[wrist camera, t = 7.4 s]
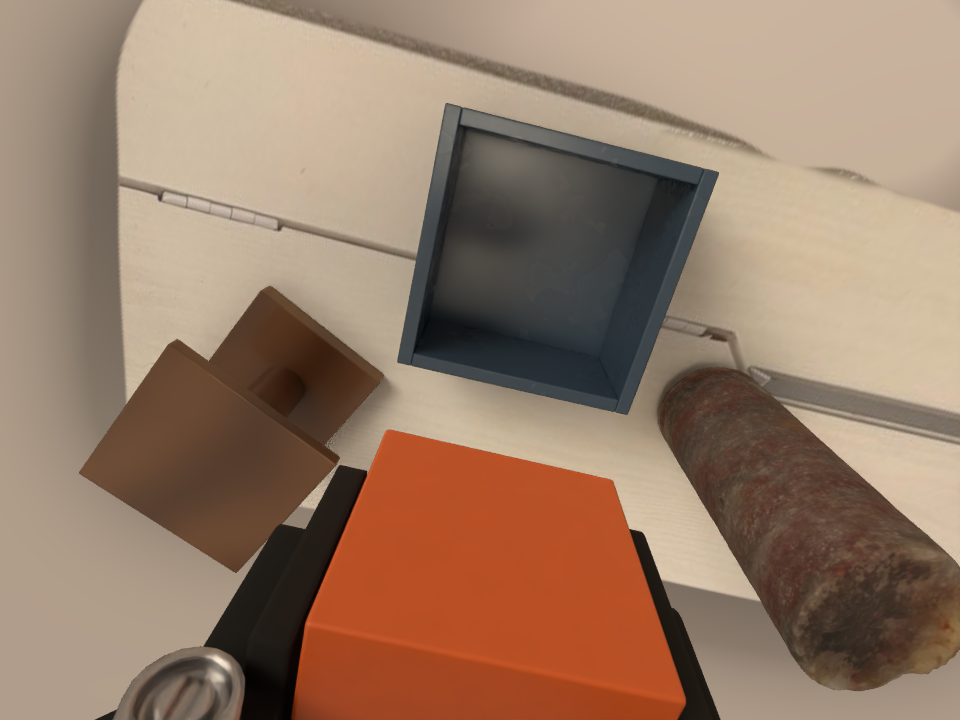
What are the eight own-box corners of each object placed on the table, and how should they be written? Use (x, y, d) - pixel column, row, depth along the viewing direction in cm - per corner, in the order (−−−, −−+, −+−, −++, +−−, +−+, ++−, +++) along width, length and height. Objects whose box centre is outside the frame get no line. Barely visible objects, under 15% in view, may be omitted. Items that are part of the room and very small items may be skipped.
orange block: (353, 601, 12) (269, 852, 8) (386, 427, 10) (304, 623, 6) (549, 642, 12) (575, 908, 8) (613, 478, 10) (690, 703, 6)
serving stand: (197, 382, 39) (77, 473, 28) (270, 284, 36) (168, 343, 25) (307, 461, 42) (235, 574, 30) (384, 374, 39) (336, 465, 27)
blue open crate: (417, 321, 37) (396, 363, 30) (457, 113, 32) (445, 102, 25) (603, 365, 38) (627, 415, 30) (671, 167, 33) (720, 172, 26)
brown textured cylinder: (652, 364, 38) (799, 572, 19) (759, 350, 37) (1021, 551, 18) (656, 456, 40) (789, 716, 22) (756, 445, 40) (981, 703, 21)
